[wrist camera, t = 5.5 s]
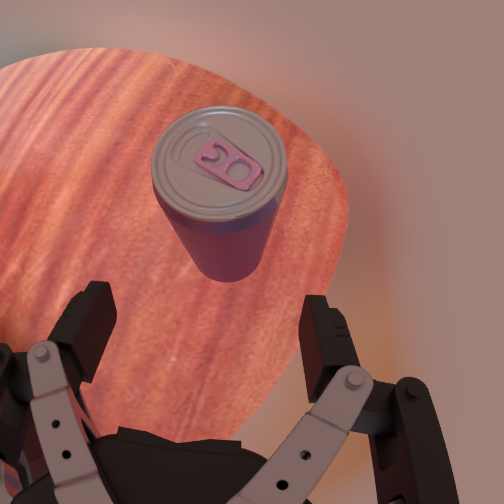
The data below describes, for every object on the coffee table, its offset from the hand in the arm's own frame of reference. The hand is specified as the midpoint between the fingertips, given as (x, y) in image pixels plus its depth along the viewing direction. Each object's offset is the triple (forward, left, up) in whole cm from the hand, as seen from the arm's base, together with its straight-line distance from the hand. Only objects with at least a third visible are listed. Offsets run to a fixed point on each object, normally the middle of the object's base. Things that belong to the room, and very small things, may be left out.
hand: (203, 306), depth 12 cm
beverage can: (+5, -2, -14) cm, 15 cm away
